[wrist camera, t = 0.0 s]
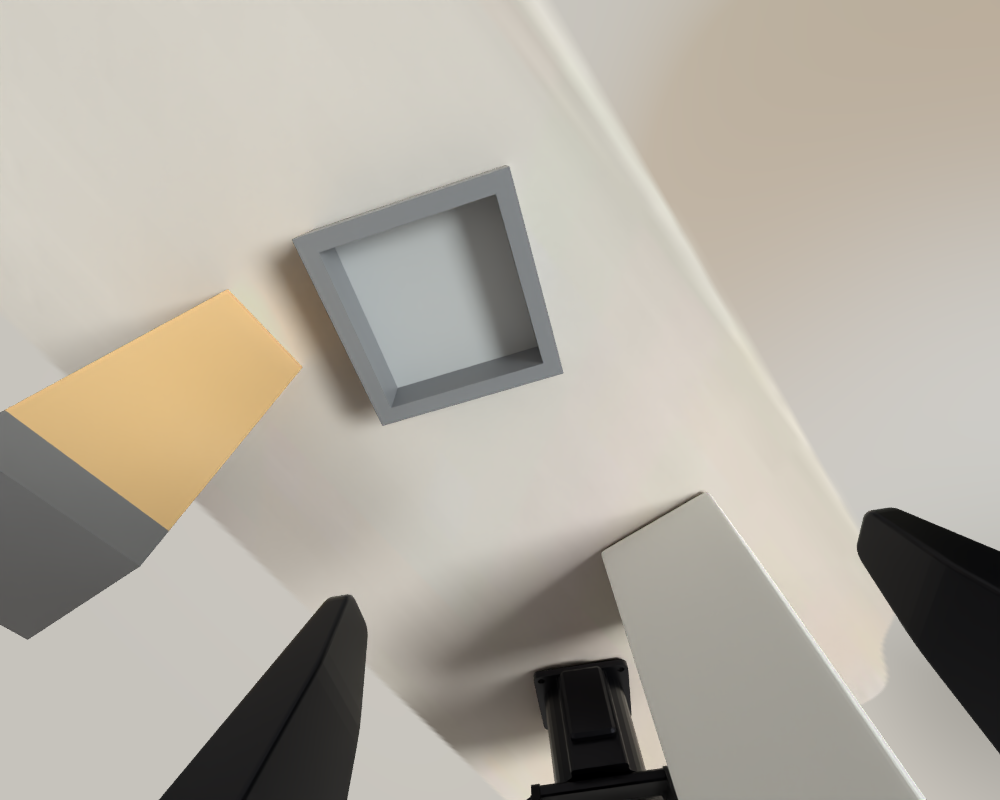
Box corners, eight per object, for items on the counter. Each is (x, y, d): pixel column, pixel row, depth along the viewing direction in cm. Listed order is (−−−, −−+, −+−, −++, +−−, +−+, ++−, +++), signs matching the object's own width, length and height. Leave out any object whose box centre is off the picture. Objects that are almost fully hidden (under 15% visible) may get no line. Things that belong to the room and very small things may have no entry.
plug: (302, 367, 22) (139, 566, 11) (235, 415, 23) (28, 639, 12) (227, 289, 20) (-48, 438, 10) (158, 344, 21) (-162, 535, 11)
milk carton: (598, 550, 28) (783, 1140, 11) (706, 488, 26) (1114, 1078, 10) (657, 612, 31) (876, 1161, 14) (758, 559, 29) (1148, 1116, 12)
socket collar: (555, 352, 22) (563, 373, 20) (391, 400, 23) (382, 425, 21) (505, 165, 19) (509, 166, 16) (312, 230, 19) (291, 239, 17)
